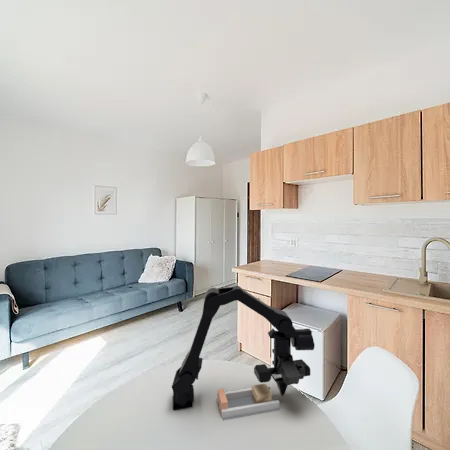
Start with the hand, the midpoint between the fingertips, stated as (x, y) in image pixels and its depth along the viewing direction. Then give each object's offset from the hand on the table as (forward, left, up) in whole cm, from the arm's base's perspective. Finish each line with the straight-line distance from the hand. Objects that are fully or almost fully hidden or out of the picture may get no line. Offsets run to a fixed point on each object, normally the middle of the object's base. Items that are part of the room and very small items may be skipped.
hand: (282, 395), depth 83 cm
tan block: (-8, 0, -1) cm, 8 cm away
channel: (-13, 0, -2) cm, 13 cm away
